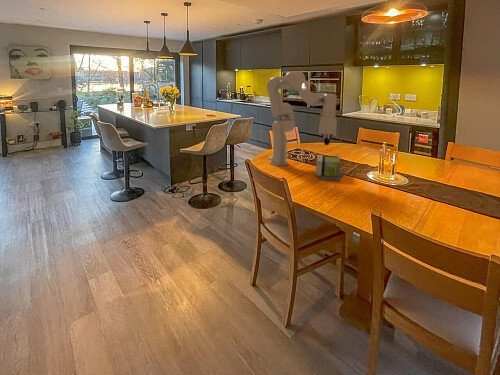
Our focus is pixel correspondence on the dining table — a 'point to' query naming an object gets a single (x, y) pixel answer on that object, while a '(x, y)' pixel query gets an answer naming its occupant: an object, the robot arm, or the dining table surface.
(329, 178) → the display board
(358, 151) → the dining table surface
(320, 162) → the tea box
